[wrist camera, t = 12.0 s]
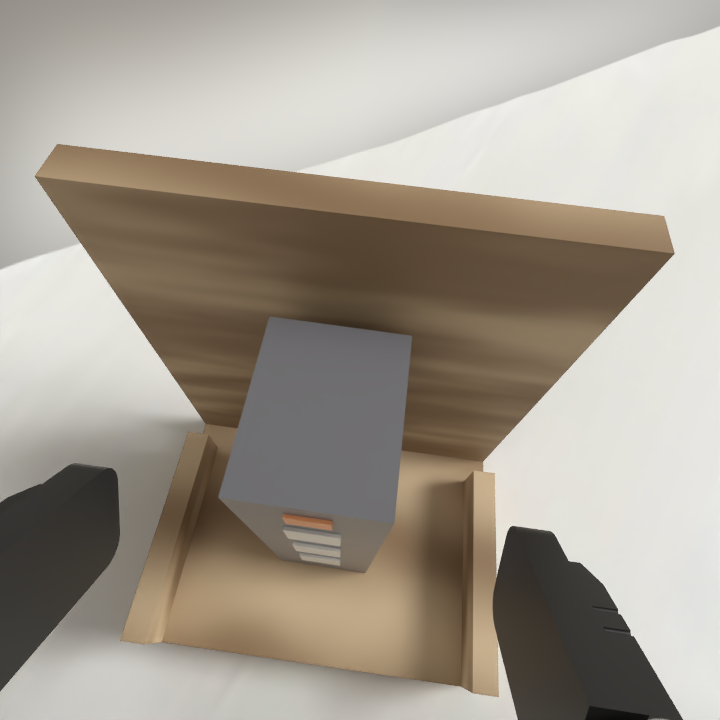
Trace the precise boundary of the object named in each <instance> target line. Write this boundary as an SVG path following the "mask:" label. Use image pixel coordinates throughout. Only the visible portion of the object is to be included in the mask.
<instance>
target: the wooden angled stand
mask: <svg viewBox="0 0 720 720" xmlns="http://www.w3.org/2000/svg"><path fill="white" fill-rule="evenodd" d="M35 177H36V179H37V180H38V182H39V183H40V185H41V186H42V188H43V189H44V191H45V192H46V193H47V195H48V196H49V197H50V199H51V201H52V202H53V204H54V205H55V206H56V208H57V209H58V211H59V212H60V214H61V215H62V217H63V218H64V219H65V221H66V222H67V224H68V225H69V227H70V228H71V230H72V231H73V232H74V234H75V235H76V237H77V238H78V240H79V241H80V243H81V244H82V245H83V247H84V248H85V250H86V251H87V253H88V254H89V256H90V257H91V259H92V260H93V261H94V263H95V264H96V266H97V267H98V269H99V270H100V272H101V273H102V274H103V276H104V277H105V279H106V280H107V282H108V283H109V285H110V286H111V287H112V289H113V290H114V292H115V293H116V295H117V296H118V298H119V299H120V300H121V302H122V303H123V305H124V306H125V308H126V309H127V311H128V312H129V313H130V315H131V316H132V318H133V319H134V321H135V322H136V324H137V325H138V327H139V328H140V329H141V331H142V332H143V334H144V335H145V337H146V338H147V340H148V341H149V342H150V344H151V345H152V347H153V348H154V350H155V351H156V353H157V354H158V355H159V357H160V358H161V360H162V361H163V363H164V364H165V366H166V367H167V368H168V370H169V371H170V373H171V374H172V376H173V377H174V379H175V380H176V381H177V383H178V384H179V386H180V387H181V389H182V390H183V392H184V393H185V395H186V396H187V397H188V399H189V400H190V402H191V403H192V405H193V406H194V408H195V409H196V410H197V412H198V413H199V415H200V416H201V418H202V419H203V421H204V422H205V423H206V425H205V429H204V432H203V434H200V433H193V432H188V435H187V438H186V441H185V444H184V447H183V450H182V453H181V456H180V459H179V462H178V465H177V468H176V471H175V475H174V478H173V481H172V484H171V487H170V490H169V493H168V496H167V499H166V502H165V505H164V508H163V511H162V514H161V517H160V520H159V523H158V526H157V529H156V532H155V535H154V539H153V542H152V545H151V548H150V551H149V554H148V557H147V560H146V563H145V566H144V569H143V572H142V575H141V578H140V581H139V584H138V587H137V590H136V593H135V596H134V600H133V603H132V606H131V609H130V612H129V615H128V618H127V621H126V624H125V627H124V630H123V633H122V636H121V639H120V641H125V642H132V643H139V644H151V643H158V642H165V643H172V644H178V645H185V646H192V647H199V648H205V649H212V650H219V651H226V652H232V653H239V654H246V655H253V656H259V657H266V658H273V659H279V660H286V661H293V662H300V663H306V664H313V665H320V666H327V667H333V668H340V669H347V670H354V671H360V672H367V673H374V674H380V675H387V676H394V677H401V678H407V679H414V680H421V681H428V682H434V683H441V684H448V685H454V686H461V687H463V688H465V689H466V690H468V691H470V692H472V693H475V694H481V695H488V696H495V697H499V691H498V638H497V634H496V630H495V626H494V621H493V592H494V587H495V583H496V526H495V473H488V472H483V461H484V460H485V459H486V458H487V457H488V456H489V454H490V453H491V452H492V451H493V450H494V449H495V448H496V447H497V446H498V445H499V444H500V443H501V441H502V440H503V439H504V438H505V437H506V436H507V435H508V434H509V433H510V432H511V431H512V429H513V428H514V427H515V426H516V425H517V424H518V423H519V422H520V421H521V420H522V419H523V418H524V416H525V415H526V414H527V413H528V412H529V411H530V410H531V409H532V408H533V407H534V406H535V405H536V403H537V402H538V401H539V400H540V399H541V398H542V397H543V396H544V395H545V394H546V393H547V391H548V390H549V389H550V388H551V387H552V386H553V385H554V384H555V383H556V382H557V381H558V380H559V378H560V377H561V376H562V375H563V374H564V373H565V372H566V371H567V370H568V369H569V368H570V367H571V365H572V364H573V363H574V362H575V361H576V360H577V359H578V358H579V357H580V356H581V355H582V353H583V352H584V351H585V350H586V349H587V348H588V347H589V346H590V345H591V344H592V343H593V342H594V340H595V339H596V338H597V337H598V336H599V335H600V334H601V333H602V332H603V331H604V330H605V329H606V327H607V326H608V325H609V324H610V323H611V322H612V321H613V320H614V319H615V318H616V317H617V316H618V314H619V313H620V312H621V311H622V310H623V309H624V308H625V307H626V306H627V305H628V304H629V302H630V301H631V300H632V299H633V298H634V297H635V296H636V295H637V294H638V293H639V292H640V291H641V289H642V288H643V287H644V286H645V285H646V284H647V283H648V282H649V281H650V280H651V279H652V278H653V276H654V275H655V274H656V273H657V272H658V271H659V270H660V269H661V268H662V267H663V266H664V264H665V263H666V262H667V261H668V260H669V259H670V258H671V257H672V256H673V255H674V254H675V253H674V250H673V246H672V242H671V239H670V235H669V232H668V228H667V225H666V221H665V217H664V216H659V215H650V214H642V213H634V212H625V211H617V210H608V209H600V208H591V207H583V206H575V205H566V204H558V203H549V202H541V201H532V200H524V199H516V198H507V197H499V196H490V195H482V194H473V193H465V192H457V191H448V190H440V189H431V188H423V187H414V186H406V185H398V184H389V183H381V182H372V181H364V180H355V179H347V178H339V177H330V176H322V175H313V174H305V173H296V172H288V171H279V170H271V169H262V168H254V167H245V166H237V165H228V164H221V163H211V162H204V161H195V160H187V159H178V158H170V157H162V156H152V155H144V154H136V153H128V152H119V151H111V150H102V149H93V148H86V147H77V146H69V145H60V144H57V145H56V147H55V148H54V150H53V151H52V152H51V154H50V155H49V157H48V158H47V159H46V161H45V163H44V164H43V165H42V167H41V168H40V169H39V171H38V172H37V174H36V175H35ZM269 316H270V317H277V318H284V319H292V320H299V321H307V322H314V323H321V324H329V325H336V326H343V327H351V328H358V329H366V330H373V331H380V332H388V333H395V334H402V335H410V336H412V343H411V354H410V365H409V375H408V386H407V396H406V407H405V417H404V428H403V439H402V449H401V460H400V470H399V481H398V491H397V502H396V513H395V523H394V525H393V527H392V529H391V530H390V532H389V534H388V536H387V537H386V539H385V541H384V542H383V544H382V546H381V547H380V549H379V551H378V553H377V554H376V556H375V558H374V559H373V561H372V563H371V565H370V566H369V568H368V570H367V571H366V573H362V572H356V571H349V570H343V569H336V568H330V567H323V566H317V565H310V564H304V563H297V562H291V561H284V560H281V559H280V558H279V557H278V556H277V555H276V554H275V553H274V552H273V551H272V550H271V549H270V548H269V547H268V546H267V545H266V544H265V543H264V542H263V541H262V540H261V539H260V538H259V537H258V536H257V535H256V534H255V533H254V532H253V531H252V530H251V529H250V528H249V527H248V526H247V525H245V524H244V523H243V522H242V521H241V520H240V519H239V518H238V517H237V516H236V515H235V514H234V513H233V512H232V511H231V510H230V509H229V508H228V507H227V506H226V505H225V504H224V503H223V502H222V501H221V500H220V499H219V498H218V496H219V493H220V489H221V486H222V482H223V479H224V475H225V472H226V468H227V465H228V461H229V458H230V454H231V450H232V447H233V443H234V440H235V436H236V433H237V429H238V426H239V422H240V419H241V415H242V412H243V408H244V405H245V401H246V398H247V394H248V390H249V387H250V383H251V380H252V376H253V373H254V369H255V366H256V362H257V359H258V355H259V352H260V348H261V345H262V341H263V338H264V334H265V330H266V327H267V323H268V320H269Z"/></svg>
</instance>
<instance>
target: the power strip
mask: <svg viewBox="0 0 720 720" xmlns="http://www.w3.org/2000/svg"><path fill="white" fill-rule="evenodd" d="M411 343H412V336H410V335H402V334H395V333H388V332H380V331H373V330H366V329H358V328H351V327H343V326H336V325H329V324H321V323H314V322H307V321H299V320H292V319H284V318H277V317H270V316H269V320H268V323H267V327H266V330H265V334H264V338H263V341H262V345H261V348H260V352H259V355H258V359H257V362H256V366H255V369H254V373H253V376H252V380H251V383H250V387H249V390H248V394H247V398H246V401H245V405H244V408H243V412H242V415H241V419H240V422H239V426H238V429H237V433H236V436H235V440H234V443H233V447H232V450H231V454H230V458H229V461H228V465H227V468H226V472H225V475H224V479H223V482H222V486H221V489H220V493H219V496H218V498H219V499H220V500H221V501H222V502H223V503H224V504H225V505H226V506H227V507H228V508H229V509H230V510H231V511H232V512H233V513H234V514H235V515H236V516H237V517H238V518H239V519H240V520H241V521H242V522H243V523H244V524H245V525H247V526H248V527H249V528H250V529H251V530H252V531H253V532H254V533H255V534H256V535H257V536H258V537H259V538H260V539H261V540H262V541H263V542H264V543H265V544H266V545H267V546H268V547H269V548H270V549H271V550H272V551H273V552H274V553H275V554H276V555H277V556H278V557H279V558H280V559H281V560H284V561H291V562H297V563H304V564H310V565H317V566H323V567H330V568H336V569H343V570H349V571H356V572H362V573H366V571H367V570H368V568H369V566H370V565H371V563H372V561H373V559H374V558H375V556H376V554H377V553H378V551H379V549H380V547H381V546H382V544H383V542H384V541H385V539H386V537H387V536H388V534H389V532H390V530H391V529H392V527H393V525H394V523H395V513H396V502H397V491H398V481H399V470H400V460H401V449H402V439H403V428H404V417H405V407H406V396H407V386H408V375H409V365H410V354H411Z"/></svg>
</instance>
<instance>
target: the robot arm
mask: <svg viewBox="0 0 720 720" xmlns="http://www.w3.org/2000/svg"><path fill="white" fill-rule="evenodd" d="M119 536H120V525H119V499H118V478H117V474H116V472H115V471H114V470H113V469H112V468H105V467H98V466H91V465H84V464H77V463H74V464H71V465H69V466H67V467H66V468H64V469H63V470H62V471H60V472H59V473H57V474H56V475H55V476H53V477H52V478H50V479H49V480H48V481H46V482H45V483H43V484H42V485H41V484H39V485H36V486H34V487H32V488H29V489H27V490H25V491H22V492H20V493H17V494H15V495H13V496H10V497H8V498H7V499H5V500H4V501H2V502H1V503H0V691H1V690H2V689H3V687H4V686H5V685H6V684H7V683H8V682H9V680H10V679H11V678H12V677H13V676H14V675H15V673H16V672H17V671H18V670H19V669H20V668H21V666H22V665H23V664H24V663H25V662H26V661H27V660H28V658H29V657H30V656H31V655H32V654H33V653H34V651H35V650H36V649H37V648H38V647H39V646H40V644H41V643H42V642H43V641H44V640H45V639H46V637H47V636H48V635H49V634H50V633H51V632H52V630H53V629H54V628H55V627H56V626H57V625H58V623H59V622H60V621H61V620H62V619H63V618H64V616H65V615H66V614H67V613H68V612H69V611H70V609H71V608H72V607H73V606H74V605H75V604H76V603H77V601H78V600H79V599H80V598H81V597H82V596H83V594H84V593H85V592H86V591H87V590H88V589H89V587H90V586H91V585H92V584H93V583H94V582H95V580H96V579H97V578H98V577H99V576H100V575H101V573H102V572H103V571H104V570H105V569H106V568H107V566H108V565H109V564H110V562H111V560H112V558H113V557H114V554H115V552H116V549H117V546H118V542H119ZM493 621H494V626H495V630H496V634H497V638H498V642H499V646H500V650H501V654H502V658H503V662H504V666H505V670H506V674H507V678H508V682H509V686H510V690H511V694H512V698H513V702H514V706H515V710H516V714H517V718H518V720H683V719H682V717H681V716H680V714H679V712H678V710H677V709H676V707H675V705H674V704H673V702H672V700H671V699H670V697H669V695H668V694H667V692H666V690H665V688H664V687H663V685H662V683H661V682H660V680H659V678H658V677H657V675H656V673H655V671H654V670H653V668H652V666H651V665H650V663H649V661H648V660H647V658H646V656H645V655H644V653H643V651H642V649H641V648H640V646H639V644H638V643H637V641H636V639H635V638H634V636H631V634H630V629H629V627H628V626H627V624H626V622H625V621H624V619H623V617H622V616H621V615H620V614H618V609H617V607H616V605H615V604H614V602H613V600H612V599H611V597H610V595H609V593H608V592H607V590H606V588H605V587H604V585H603V584H602V583H601V582H600V581H599V580H598V579H597V578H596V577H595V576H593V575H592V574H591V573H590V572H589V571H588V570H587V569H586V568H585V567H584V566H583V565H582V564H581V563H577V562H570V561H568V559H567V557H566V555H565V554H564V552H563V550H562V548H561V546H560V544H559V542H558V540H557V538H556V537H555V535H554V534H553V533H552V532H551V531H545V530H538V529H530V528H523V527H516V526H512V527H510V528H509V530H508V533H507V536H506V540H505V544H504V549H503V553H502V557H501V561H500V566H499V570H498V574H497V578H496V583H495V587H494V592H493Z"/></svg>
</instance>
